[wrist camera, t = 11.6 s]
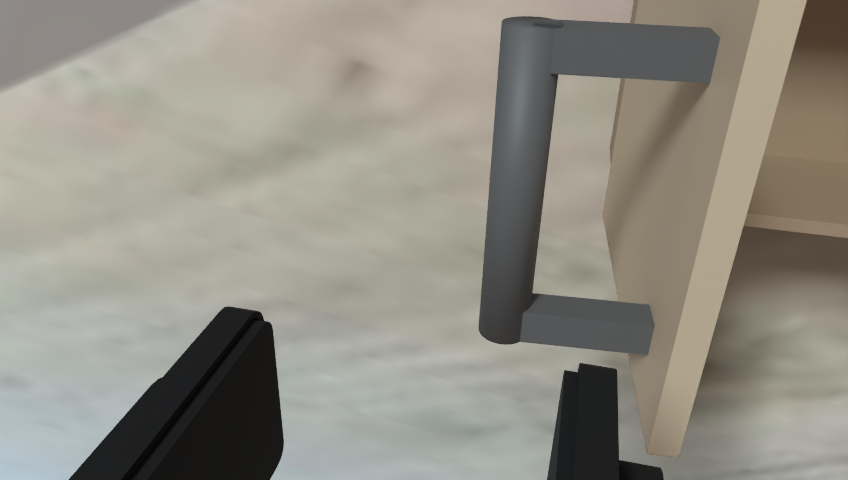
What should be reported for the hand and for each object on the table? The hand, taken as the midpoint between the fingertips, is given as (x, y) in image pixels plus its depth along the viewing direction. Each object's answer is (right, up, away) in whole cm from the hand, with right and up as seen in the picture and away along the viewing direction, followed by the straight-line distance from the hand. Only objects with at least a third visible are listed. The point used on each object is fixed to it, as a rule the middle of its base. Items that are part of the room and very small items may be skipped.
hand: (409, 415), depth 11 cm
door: (+8, +6, +10) cm, 14 cm away
